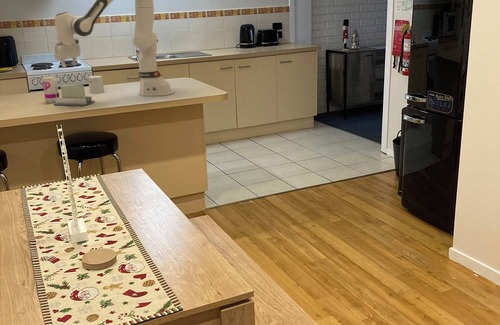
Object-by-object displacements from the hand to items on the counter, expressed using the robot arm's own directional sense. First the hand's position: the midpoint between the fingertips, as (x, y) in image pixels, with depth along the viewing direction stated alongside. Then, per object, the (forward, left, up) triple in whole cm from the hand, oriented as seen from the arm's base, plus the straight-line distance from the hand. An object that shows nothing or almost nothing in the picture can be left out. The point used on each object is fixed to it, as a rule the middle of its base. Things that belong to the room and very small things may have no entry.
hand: (69, 66), depth 312 cm
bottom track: (0, 0, -22) cm, 22 cm away
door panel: (0, 0, -21) cm, 21 cm away
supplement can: (+18, -4, -23) cm, 29 cm away
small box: (+8, -37, -23) cm, 44 cm away
